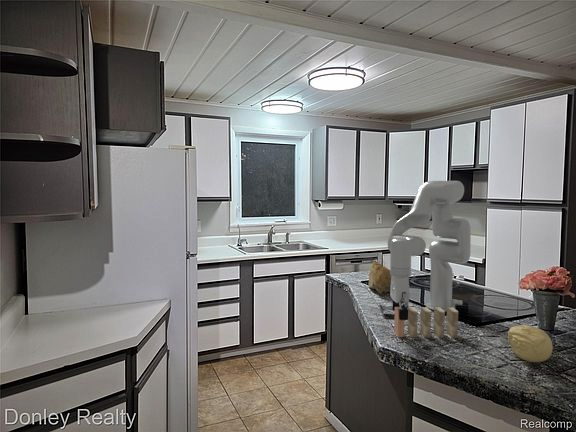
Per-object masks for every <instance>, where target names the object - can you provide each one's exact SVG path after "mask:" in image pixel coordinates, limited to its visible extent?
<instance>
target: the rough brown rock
mask: <svg viewBox="0 0 576 432" xmlns="http://www.w3.org/2000/svg"><path fill="white" fill-rule="evenodd" d="M368 288H370V289H373V290H376V292H377V294H381V295H382V294H383V293H390V289H391V275H390V268H387V267H386V266H384V265H383V264H382V263H379V262H376V261H373V262H372V263H371V268H370V272H369V277H368Z"/></svg>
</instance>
